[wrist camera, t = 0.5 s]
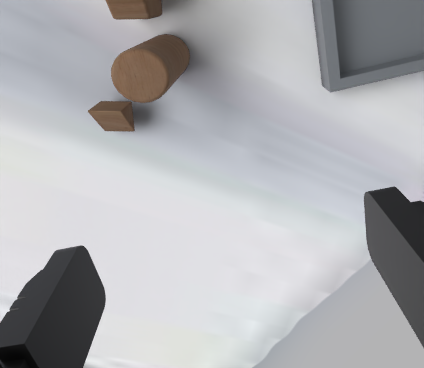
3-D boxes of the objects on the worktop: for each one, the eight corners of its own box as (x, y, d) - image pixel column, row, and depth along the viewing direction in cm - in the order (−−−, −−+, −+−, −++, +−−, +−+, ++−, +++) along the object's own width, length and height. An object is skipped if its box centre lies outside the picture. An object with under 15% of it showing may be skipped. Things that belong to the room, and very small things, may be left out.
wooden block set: (82, -84, 32) (14, -114, 23) (184, -87, 31) (157, -120, 22) (110, 125, 40) (68, 164, 31) (193, 126, 39) (175, 166, 30)
